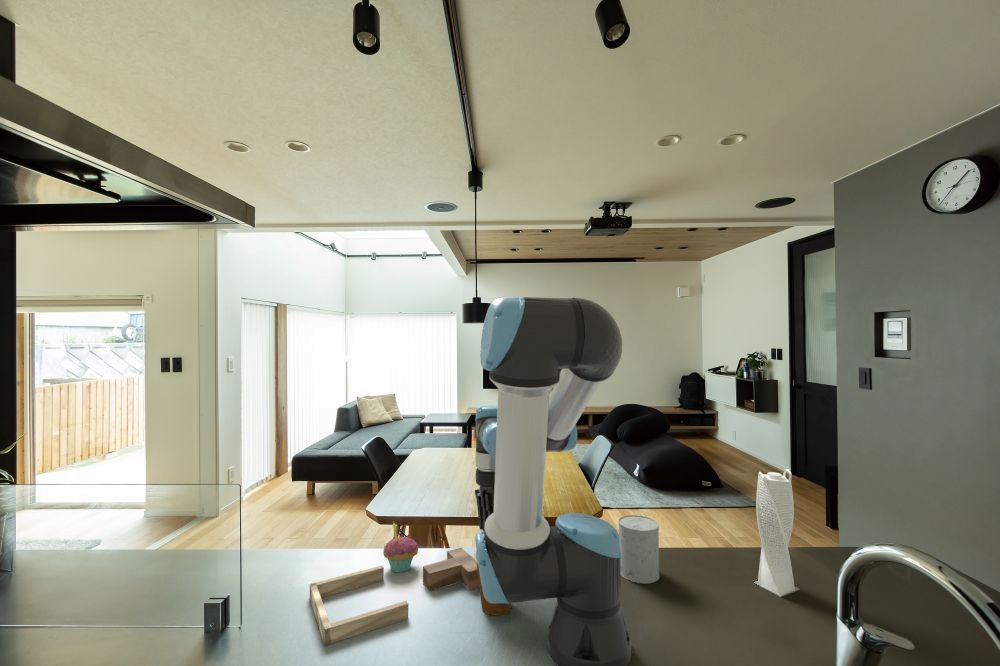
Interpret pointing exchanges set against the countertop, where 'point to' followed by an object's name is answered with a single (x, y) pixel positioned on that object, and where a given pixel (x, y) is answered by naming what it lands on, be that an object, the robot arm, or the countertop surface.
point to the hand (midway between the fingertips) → (490, 562)
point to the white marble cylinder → (639, 548)
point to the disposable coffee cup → (486, 606)
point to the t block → (451, 571)
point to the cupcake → (400, 552)
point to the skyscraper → (775, 532)
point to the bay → (357, 623)
